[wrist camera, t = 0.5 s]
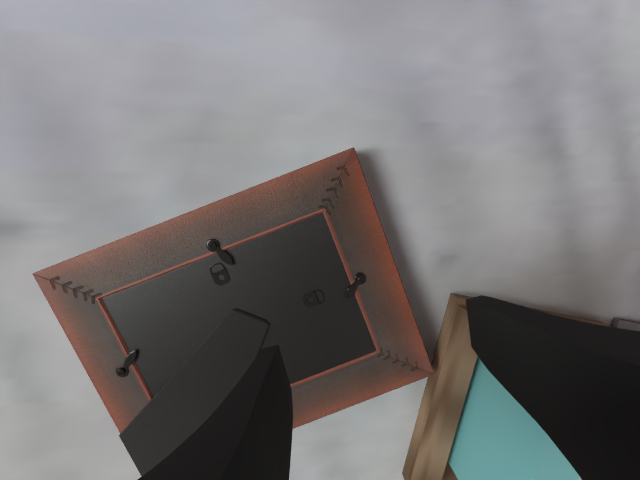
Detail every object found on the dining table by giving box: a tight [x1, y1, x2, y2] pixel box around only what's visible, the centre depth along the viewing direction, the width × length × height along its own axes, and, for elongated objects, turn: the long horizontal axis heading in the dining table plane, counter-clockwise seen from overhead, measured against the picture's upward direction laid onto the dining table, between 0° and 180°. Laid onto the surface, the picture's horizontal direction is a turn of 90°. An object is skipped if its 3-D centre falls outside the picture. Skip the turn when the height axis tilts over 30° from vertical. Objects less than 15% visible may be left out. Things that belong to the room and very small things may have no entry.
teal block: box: [448, 356, 580, 480], centre depth 19 cm, size 8×2×8 cm, turn 168°
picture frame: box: [33, 147, 434, 476], centre depth 22 cm, size 16×2×22 cm
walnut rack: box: [402, 293, 611, 480], centre depth 23 cm, size 15×12×3 cm
